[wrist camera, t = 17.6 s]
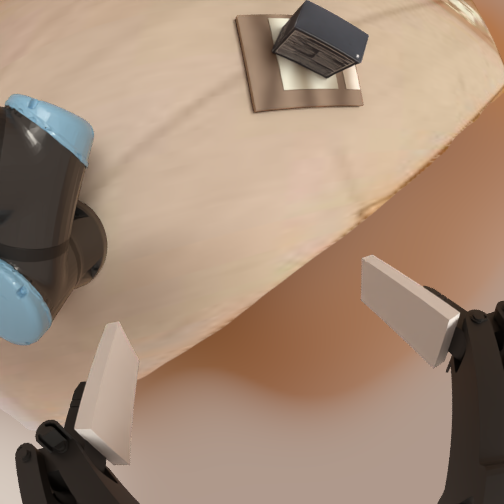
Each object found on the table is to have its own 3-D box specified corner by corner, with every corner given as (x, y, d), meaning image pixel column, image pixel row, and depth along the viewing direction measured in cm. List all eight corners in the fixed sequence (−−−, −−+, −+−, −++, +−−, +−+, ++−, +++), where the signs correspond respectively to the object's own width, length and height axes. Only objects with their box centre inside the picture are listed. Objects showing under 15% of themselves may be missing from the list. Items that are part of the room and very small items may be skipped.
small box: (337, 52, 36) (371, 34, 26) (327, 80, 38) (362, 65, 28) (282, 24, 33) (307, -3, 23) (269, 52, 34) (293, 27, 25)
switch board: (253, 112, 39) (256, 110, 37) (235, 19, 32) (237, 14, 31) (359, 106, 42) (364, 105, 40) (339, 23, 35) (344, 19, 33)
